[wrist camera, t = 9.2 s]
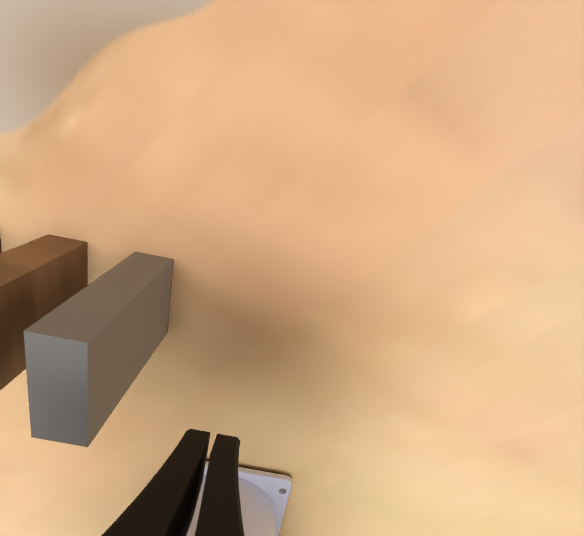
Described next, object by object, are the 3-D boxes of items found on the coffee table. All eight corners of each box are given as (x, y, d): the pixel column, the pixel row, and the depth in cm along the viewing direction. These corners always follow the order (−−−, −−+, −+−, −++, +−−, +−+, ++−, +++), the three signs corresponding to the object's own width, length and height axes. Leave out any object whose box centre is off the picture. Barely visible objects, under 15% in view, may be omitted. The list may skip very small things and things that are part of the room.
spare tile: (167, 331, 21) (87, 447, 13) (132, 325, 20) (31, 437, 13) (173, 259, 19) (87, 342, 12) (135, 251, 19) (23, 331, 11)
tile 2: (87, 316, 20) (-40, 424, 13) (51, 309, 20) (-98, 414, 13) (87, 242, 19) (-57, 315, 11) (48, 234, 19) (-123, 303, 11)
